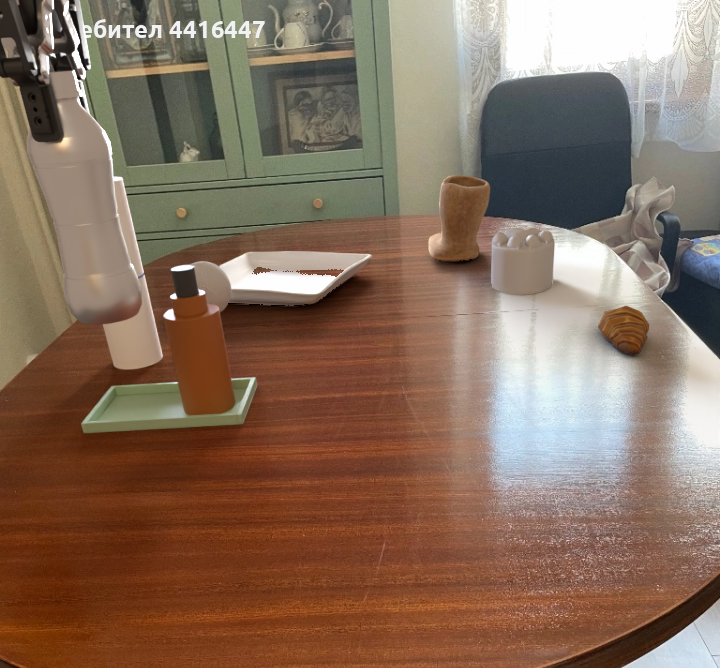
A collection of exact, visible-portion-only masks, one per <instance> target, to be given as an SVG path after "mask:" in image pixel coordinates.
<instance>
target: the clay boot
mask: <svg viewBox="0 0 720 668" xmlns="http://www.w3.org/2000/svg"><path fill="white" fill-rule="evenodd" d="M490 194H491V185H490V183H489V182H488V181H487V180H485V179H482V178H478V177H476V176H471V175H463V174H453V175H449V176H447V177H445V178H444V179H443V181H442V183H441V185H440V191H439V201H438V212H439V218H440V226H441V232H438V233H437V232H436V233H435V234H432V235H431V236H430V237H429V238H428V244H427V245H428V253H429V255H430V257H431V258H432V259H434V260H435V261H439V260H441V261H440V262H464V261H463V260H465V261H470V260H469V259H472V260H475V259H476V258H477V257H478V256H479V254H480V245H479V244H478V242H477V236H478V232H479V231H480V230H479V229H480V226H481V224H482V222H483V219H484V216H485V214H486V213H487V209H488V207H489V203H490V196H491V195H490ZM460 260H461V261H460Z"/></svg>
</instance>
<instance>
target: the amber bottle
mask: <svg viewBox="0 0 720 668" xmlns="http://www.w3.org/2000/svg"><path fill="white" fill-rule="evenodd" d="M170 274H171V278H172V283H173V287H174V293H173V294H171V295H170V296H169V299H170V303H171V309H168V310H167V311H165V312H164V313H163V315H162V317H163V321H164V326H165V331H166V336H167V339H168V340H167V341H168V344H169V349H170V353H171V358H172V362H173V367H174V372H175V376H176V382H178V386H179V390H180V395H181V399H182V404H183V408H184V412H185V413H186V414H188V415H206V414H222V413H224V412H226V411H228V410H230V409H231V408H233V407H234V405H235V403H236V401H235V395H234V390H233V384H232V379H233V378H232V373H231V368H230V363H229V356H228V352H227V345H226V340H225V334H224V327H223V323H222V317H221V312H219V307H218V306H216V305H214V304H208V303H207V299H206V293H205V291H203V290H198V285H197V279H196V274H195V269H194V266H192V265H190V264H182V265H178V266H177V265H176V266H174V267H172V268H170Z"/></svg>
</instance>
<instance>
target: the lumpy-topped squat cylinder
mask: <svg viewBox="0 0 720 668" xmlns="http://www.w3.org/2000/svg"><path fill="white" fill-rule="evenodd" d="M555 243H556V242H555V238H554V236H553V233H552V232H551V231H550V230H547V229H545V230H542V231H541V230H540V229H538V228H537V227H523V228H520V227H514V228H508V229H506V230H505V231H503V232H502V231H501V232H497V233H496V234H495V235H494V236H493V237H492V239H491V259H490V260H491V263H490V265H491V267H490V269H491V270H490V276H491V277H490V285H491V284H492V286H491V288H493V287H494V288H495V289H494V288H493V289H494V290H496V289H498V290H499V291H498V290H497V291H498V292H500V291H502V292H501V293H503V292H504V294H509V295H517V296H525V295H534V294H537V293H541V292H544V291H546V290H549V288H551V287H552V286H553V283H554V282H553V280H554V261H555V248H556V247H555V246H556V244H555Z"/></svg>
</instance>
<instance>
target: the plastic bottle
mask: <svg viewBox="0 0 720 668" xmlns="http://www.w3.org/2000/svg"><path fill="white" fill-rule="evenodd" d="M49 77H50V82H49V84H45V86H52V89H53V93H54V97H55V101H56V105H57V109H58V113H59V117H60V121H61V125H62V130H63V134H64V135H63V138H62V139H61V140H58V141H52V142H37V141H35V140H34V139H33V137H32V134H31V130H30V128H29V129H28V133H27V136H26V153H27V156H28V159H29V162H30V164H31V165H32V169H33V172H34V175H35V177H36V179H37V182H38V184H39V186H40V190H41V191H42V194H43V197H44V199H45V202H46V205H47V208H48V211H49V215H50V218H51V219H52V221H53V222H52V224H53V228H54V232H55V234H56V239H57V244H58V245H57V246H58V251H59V256H60V261H61V267H62V272H63V274H62V285H63V293H64V300H65V302H66V304H67V307H68V309H69V312H70V313H71V315H72V316H73V317H74V318H75V319H76V320H77V321H78V322H80V323H81V324H85V325H90V326H91V325H93V326H94V325H96V326H98V325H99V326H100V325H103V324H111V323H116V322H120V321H124V320H127V319H130V318H132V317H134V316H135V315H137V314H138V313H139V310H140V308H141V305H142V288H141V285H140V282H139V279H138V276H137V274H136V271H135V269H134V267H133V265H132V264H131V260H130V257H129V253H128V250H127V246H126V243H125V240H124V236H123V233H122V230H121V226H120V220H119V215H118V214H117V209H118V208H117V202H116V196H115V188H114V177H115V176H114V161H113V158H112V155H113V152H112V145H111V141H110V139H109V137H108V135H107V133H106V131H105V129H104V128H102V126H101V125H100V124H99V122H97V120H96V119H95V117H93V116H92V115H91V114H89V113H90V112H89V113H88V112H87V111H86V110H85V109H84V108H83V107H82V106H81V103H80V101H79V97H80V96H82V93H81V90H79V86H78V82H77V78H76V74H75V72H74V71H60V72H49Z"/></svg>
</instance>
